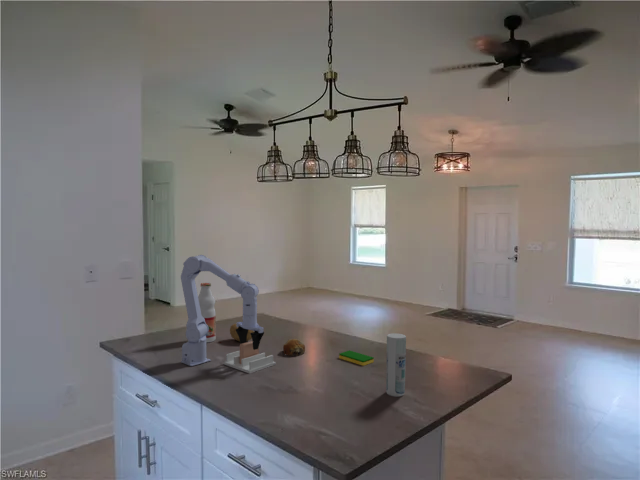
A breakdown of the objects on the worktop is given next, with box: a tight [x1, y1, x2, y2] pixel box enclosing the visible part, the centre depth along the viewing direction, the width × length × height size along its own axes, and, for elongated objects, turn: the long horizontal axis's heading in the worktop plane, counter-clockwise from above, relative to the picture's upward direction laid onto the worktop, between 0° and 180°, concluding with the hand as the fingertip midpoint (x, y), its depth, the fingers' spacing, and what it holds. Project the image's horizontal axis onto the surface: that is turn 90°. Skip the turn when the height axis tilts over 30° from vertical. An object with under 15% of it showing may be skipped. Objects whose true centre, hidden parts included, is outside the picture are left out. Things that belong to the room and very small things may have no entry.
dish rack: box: [223, 350, 277, 374], centre depth 179 cm, size 14×16×4 cm
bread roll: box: [282, 338, 306, 357], centre depth 196 cm, size 10×10×8 cm
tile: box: [239, 340, 260, 364], centre depth 179 cm, size 8×2×8 cm, turn 140°
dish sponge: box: [338, 349, 375, 367], centre depth 186 cm, size 7×14×2 cm, turn 45°
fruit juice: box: [198, 282, 217, 344], centre depth 213 cm, size 9×9×28 cm
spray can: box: [385, 332, 407, 398], centre depth 151 cm, size 6×6×20 cm
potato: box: [229, 323, 254, 343], centre depth 213 cm, size 10×14×8 cm
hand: (249, 347), depth 179 cm, fingers open, 7 cm apart
